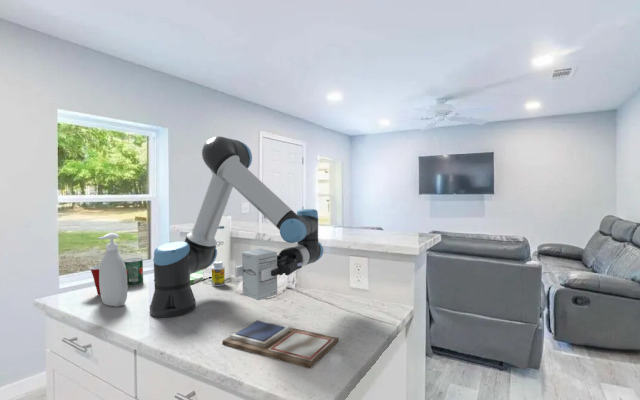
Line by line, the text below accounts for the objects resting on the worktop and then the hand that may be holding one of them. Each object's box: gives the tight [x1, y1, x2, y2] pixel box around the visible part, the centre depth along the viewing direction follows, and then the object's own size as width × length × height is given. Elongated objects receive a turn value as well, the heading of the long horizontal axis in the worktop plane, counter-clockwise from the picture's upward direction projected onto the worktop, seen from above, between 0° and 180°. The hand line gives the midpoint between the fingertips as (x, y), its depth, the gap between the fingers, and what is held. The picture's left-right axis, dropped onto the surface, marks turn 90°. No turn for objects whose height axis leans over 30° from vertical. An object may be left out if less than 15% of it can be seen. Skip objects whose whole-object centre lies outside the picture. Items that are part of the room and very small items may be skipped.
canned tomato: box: [123, 257, 144, 287], centre depth 155 cm, size 8×8×11 cm
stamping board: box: [222, 319, 339, 369], centre depth 95 cm, size 28×16×2 cm, turn 62°
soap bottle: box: [97, 232, 128, 308], centre depth 127 cm, size 14×8×27 cm, turn 62°
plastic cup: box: [89, 264, 101, 297], centre depth 141 cm, size 11×11×12 cm
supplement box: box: [241, 248, 278, 301], centre depth 98 cm, size 7×7×13 cm
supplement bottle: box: [211, 260, 226, 287], centre depth 152 cm, size 6×6×10 cm
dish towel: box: [153, 270, 204, 286], centre depth 162 cm, size 18×23×3 cm
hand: (249, 273), depth 94 cm, fingers closed on supplement box, 8 cm apart
